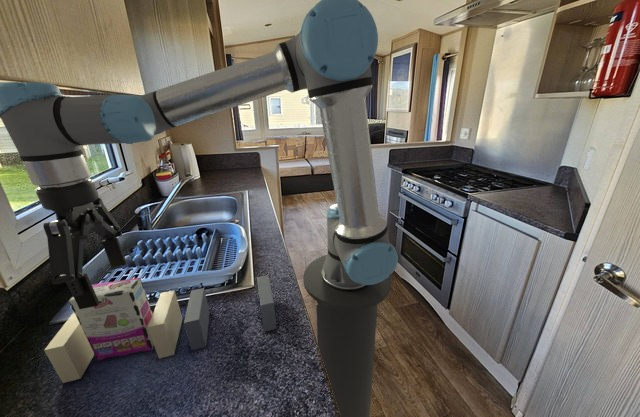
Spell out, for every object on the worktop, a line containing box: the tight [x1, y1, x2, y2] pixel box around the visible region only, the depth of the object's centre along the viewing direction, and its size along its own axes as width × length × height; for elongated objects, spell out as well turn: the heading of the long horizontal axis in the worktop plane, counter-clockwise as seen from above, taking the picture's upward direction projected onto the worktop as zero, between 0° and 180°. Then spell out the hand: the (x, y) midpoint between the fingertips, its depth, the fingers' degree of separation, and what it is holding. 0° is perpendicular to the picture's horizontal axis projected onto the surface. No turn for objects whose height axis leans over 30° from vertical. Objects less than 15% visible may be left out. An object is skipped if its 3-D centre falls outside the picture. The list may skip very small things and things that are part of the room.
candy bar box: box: [68, 277, 155, 361], centre depth 56 cm, size 11×5×16 cm, turn 102°
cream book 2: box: [148, 289, 184, 359], centre depth 60 cm, size 3×11×9 cm, turn 17°
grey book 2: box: [256, 274, 278, 332], centre depth 66 cm, size 3×11×8 cm, turn 17°
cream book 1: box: [43, 311, 95, 384], centre depth 55 cm, size 3×11×9 cm, turn 17°
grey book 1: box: [183, 287, 211, 351], centre depth 62 cm, size 3×11×8 cm, turn 17°
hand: (106, 283), depth 53 cm, fingers open, 13 cm apart
